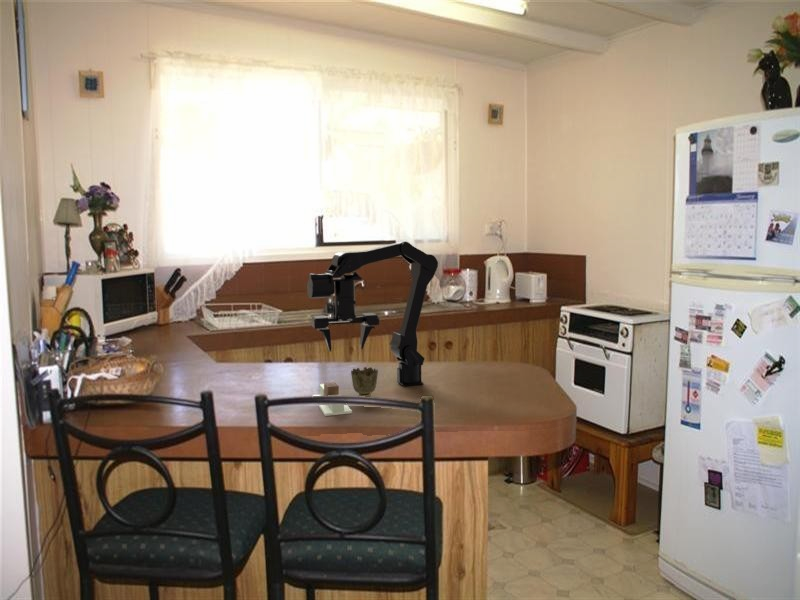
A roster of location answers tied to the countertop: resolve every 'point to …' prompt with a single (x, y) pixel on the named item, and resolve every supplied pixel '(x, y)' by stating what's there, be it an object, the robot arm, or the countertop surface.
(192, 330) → the countertop surface
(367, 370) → the cup
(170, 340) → the countertop surface
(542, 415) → the countertop surface
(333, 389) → the brown rectangular block
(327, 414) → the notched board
